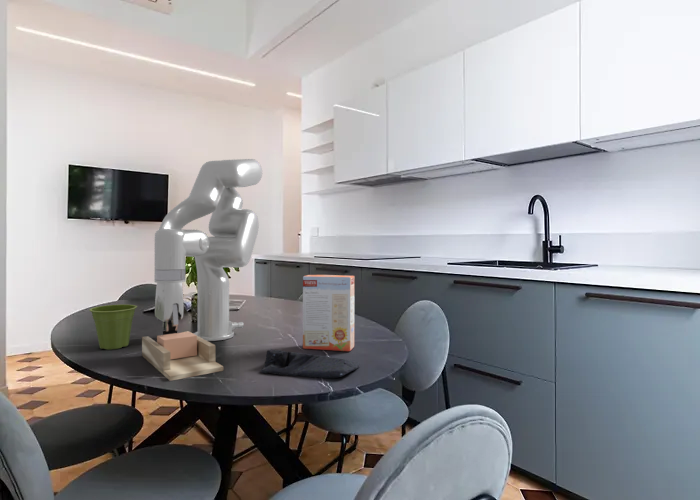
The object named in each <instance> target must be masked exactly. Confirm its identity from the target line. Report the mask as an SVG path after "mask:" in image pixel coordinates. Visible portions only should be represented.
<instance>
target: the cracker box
mask: <svg viewBox="0 0 700 500" xmlns="http://www.w3.org/2000/svg"><path fill="white" fill-rule="evenodd" d="M353 348H355V275H341V274H339V275H338V274H336V275H335V274H307V275H304V276H302V349H304V350H305V349H306V350H321V351H337V352H350V351H352V350H353Z"/></svg>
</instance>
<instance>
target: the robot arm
mask: <svg viewBox="0 0 700 500" xmlns="http://www.w3.org/2000/svg"><path fill="white" fill-rule="evenodd" d="M262 177H263V168H262V166H261V164H260V162H259V161H258V160H257V159H254V158H242V159H241V158H240V159H238V158H237V159H222V160H210V161H206V162H204V163H203V164H202V166H201V167H200V169H199V172H198V174H197V177H196V179H195V182H194V183H193V186H192V189H191V191H190V193H189V196H188V197H187V198H186V199H185V198H184V200H183V201H181V202H180V203H178V204H177V205H175V207H174V208H172V209H171V210H170V211H169V212H168V213H167V214H165V216H164V218H163V220H162V222H161V224H160V227H159V229H157V230H156V231H155V233H154V280H153V281H154V283H156V287H155V288H156V289H155V297H154V298H155V299H154V300H155V301H154V303H155V304H154V316H155V318H157V319H158V320H160V321H161V322H162V330H163V331H162V335H167V334H174V333H178V327H179V321H181V320H182V319H183V318H184V290H183V283H185V282H186V257H194V261H195V267H196V274H197V276H196V277H197V278H196V279H197V280H196V281H197V331H195V332H193V334H195V335H197V336H199V337H201V338H202V339H204V340H206V341H208V342H218V341H222V340H223V341H224V340H228V339H231V338H233V337H234V336H235V331H234V330H236V329H243V328H244V327H245V323H244V322H243V321H240V322H236V321H234V322H233V321H231V320H230V280H229V277H228V274H227V273H226V271H225V270H224V268H243V267H246V266H247V265H248V264H249V263H250V260H251V258H252V255H253V252H254V249H255V245H256V241H257V237H258V232H259V226H260V224H259V223H260V222H259V218H258V216H257V213H256V212H255V211H254V210H252V209H247V208H243V204H244V202H243V198H242V196H241V194H240V193H239V192H238V191H237V190H236V188H247V187H251V186H255V185H258V183H260V181H261V179H262ZM210 214H211V216H210V219H209V223H208V231H209V233H210V235H211V236H208V235H207V233H206V232H204V231H202V230H200V229H183V228H184V227H185V226H187V225H188V224H190V223H192V222H193V221H195V220H198V219H201V218H203V217H206V216H208V215H210Z"/></svg>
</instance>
